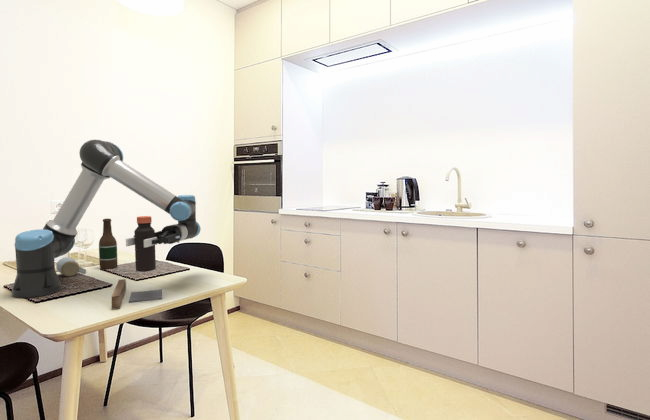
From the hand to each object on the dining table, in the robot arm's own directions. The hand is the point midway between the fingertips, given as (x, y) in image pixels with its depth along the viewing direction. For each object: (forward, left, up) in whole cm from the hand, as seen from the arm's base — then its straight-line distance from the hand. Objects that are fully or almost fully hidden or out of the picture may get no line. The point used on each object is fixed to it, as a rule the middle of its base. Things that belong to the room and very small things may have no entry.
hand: (135, 243), depth 136 cm
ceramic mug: (-30, +49, -22) cm, 61 cm away
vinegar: (+3, +4, -11) cm, 12 cm away
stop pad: (+3, +4, -21) cm, 22 cm away
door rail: (-6, +4, -21) cm, 22 cm away
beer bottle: (-16, +58, -21) cm, 64 cm away
